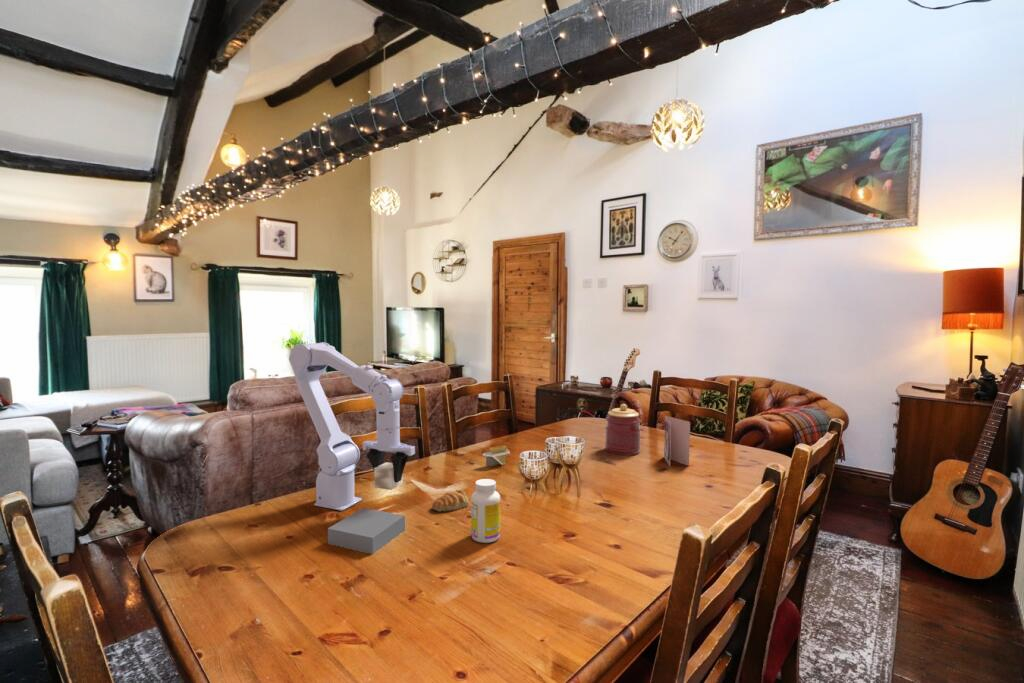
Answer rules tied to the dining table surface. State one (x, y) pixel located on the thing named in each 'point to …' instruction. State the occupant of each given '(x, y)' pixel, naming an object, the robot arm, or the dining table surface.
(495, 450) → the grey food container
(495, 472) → the dining table surface
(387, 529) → the gray panel
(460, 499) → the pastry
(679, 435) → the greeting card
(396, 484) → the cream block
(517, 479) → the dining table surface
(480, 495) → the supplement bottle
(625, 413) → the canister
